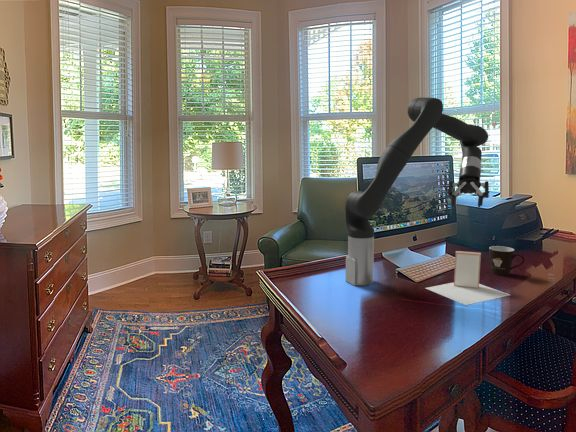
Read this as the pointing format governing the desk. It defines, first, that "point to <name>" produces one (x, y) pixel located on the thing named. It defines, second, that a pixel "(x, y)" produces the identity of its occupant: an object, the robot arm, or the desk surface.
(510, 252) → the coffee mug
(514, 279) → the desk surface
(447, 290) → the mat
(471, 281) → the beige rectangular box
